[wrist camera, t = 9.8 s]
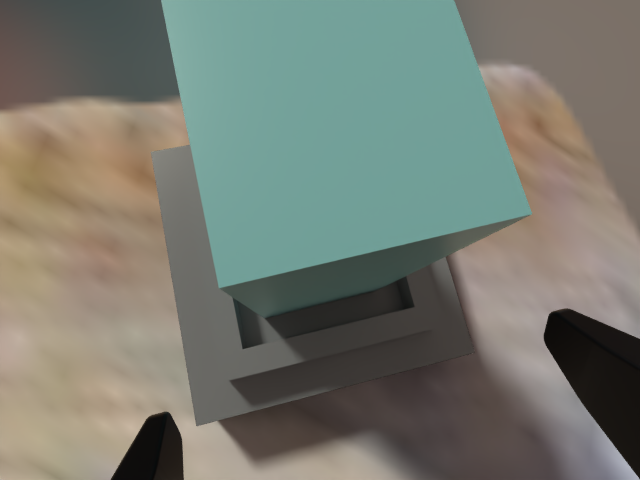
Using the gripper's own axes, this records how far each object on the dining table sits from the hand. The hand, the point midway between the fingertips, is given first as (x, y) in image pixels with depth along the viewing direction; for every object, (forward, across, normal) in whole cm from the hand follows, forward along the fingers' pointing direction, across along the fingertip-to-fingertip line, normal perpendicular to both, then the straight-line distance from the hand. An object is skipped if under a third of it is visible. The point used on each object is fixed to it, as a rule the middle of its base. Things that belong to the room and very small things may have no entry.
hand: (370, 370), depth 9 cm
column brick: (+9, 0, +2) cm, 10 cm away
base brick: (+11, 0, +5) cm, 12 cm away
